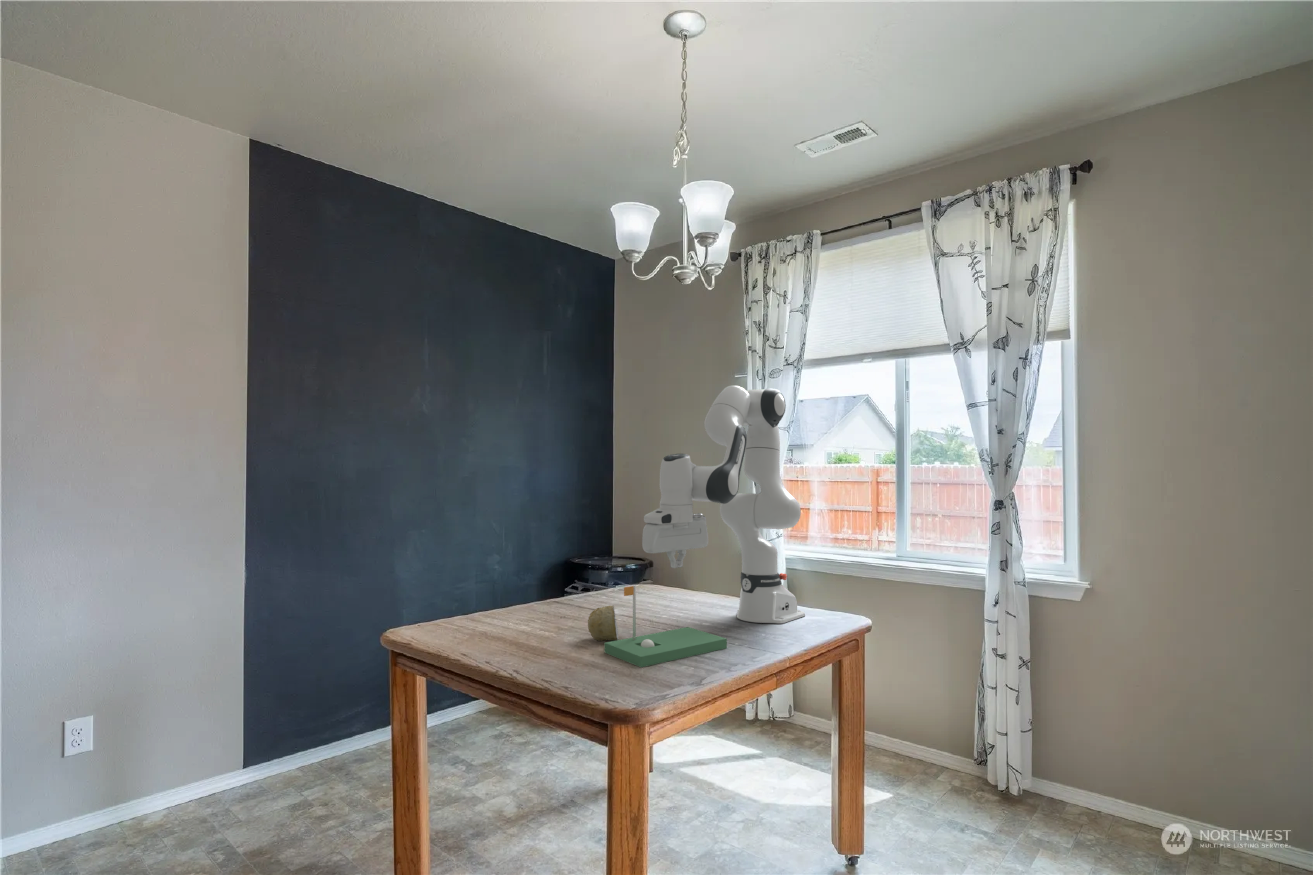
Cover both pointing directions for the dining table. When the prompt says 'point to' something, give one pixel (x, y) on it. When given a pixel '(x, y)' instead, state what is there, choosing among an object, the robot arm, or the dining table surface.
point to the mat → (662, 643)
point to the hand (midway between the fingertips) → (676, 567)
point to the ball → (647, 643)
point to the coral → (603, 624)
